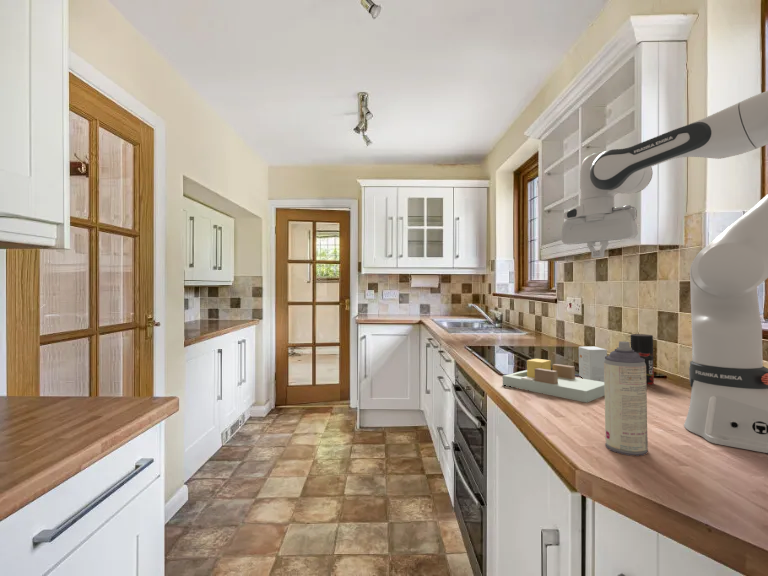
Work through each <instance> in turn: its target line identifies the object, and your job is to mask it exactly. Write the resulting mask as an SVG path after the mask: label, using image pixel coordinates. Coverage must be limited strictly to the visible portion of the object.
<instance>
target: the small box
mask: <svg viewBox="0 0 768 576" xmlns="http://www.w3.org/2000/svg"><path fill="white" fill-rule="evenodd" d="M606 356H608V350H607V349H606V348H603V347H598V346H594V345H593V346H578V372H579V373H578V375H579V376H581V377H582V378H583V379H588V380H594V381H601V382H604V361H605V357H606ZM579 376H578V377H579Z"/></svg>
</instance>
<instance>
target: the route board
mask: <svg viewBox="0 0 768 576" xmlns="http://www.w3.org/2000/svg"><path fill="white" fill-rule="evenodd" d="M551 368H552V369H551V370H548V369H541V368H537V369H535V378H533V377H527V369H525V370H521V371H517V372H514V373H507V374H505V375H502V386H504V385H507V386H506V387H509V386H511V387H510V388H513V387H516V388H515V389H518V388H520V389H519V390H523V389H525V390H524V391H528V390H529V391H528V392H533V393H537V394H542V393H543V394H544V395H548V396H551V397H552V396H553V397H557V398H562V399H568V400H573V401H578V402H582V403H587V404H588V403H589V402H591V401H592V402H593V401H594V400H597V399H600V398H602V397H605V386H604V382H601V381H594V380H588V379H582V378H580V377H577V376H576V372H575V371H576V366H575V365H574V366H573V365H568V364H567V365H566V364H560V363H559V364H558V363H553V364H551Z"/></svg>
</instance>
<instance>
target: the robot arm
mask: <svg viewBox="0 0 768 576" xmlns="http://www.w3.org/2000/svg"><path fill="white" fill-rule="evenodd" d="M767 145H768V90H767V91H764V92H761V93H757V94H755V95H754V96H750V97H748V98H746V99H744V100H742V101H739V102H737V103H734V104H732V105H730V106H728V107H726V108H724V109H722V110H720V111H717V112H714V113H713V114H711V115H708V116H706V117H704V118H702V119H699V120H697V121H694V122H690V123H689V124H686V125H684V126H680V127H678V128H675V129H672V130H670V131H668V132H665V133H662V134H659V135H657V136H654V137H652V138H650V139H647V140H645V141H642V142H640V143H637V144H634V145H632V146H629V147H626V148H625V147H624V148H614V149H608V150H605V151H604V150H603V151H598V152H594V153H591V154H590V155H588V156H586V157H585V158H584V159H583V160H582V163H581V165H580V170H579V171H580V172H579V173H580V174H579V189H580V191H581V192H580V193H581V196H580V200H579V202H580V203H579V205H577V206H575V207H573V208H570V209H569V210H567V211H566V212H564V213H563V218H564V222H563V223H562V228H561V242H562V243H563V244H564V245H569V246H571V245H580V244H586V246H587V248H588V250H589V251H590V252H591V254H590V255H591V258H605V251H606V250H607V248H608V247H609V241H611V242H612V241H619V240H620V241H621V240H632V239H635V238H636V237H637V236H638V225H637V217H638V215H637V214H638V212H637V211H638V210H637V209H636V208H637V207H635V206H632V205H631V204H630V205H629V204H626V205H623V206H615V195H616V194H628V195H630V194H636V193H639V192H641V191H643V190H645V189H646V188H647V187H649V186H648V185H649V184H650V182H651V181H652V178H653V167H654V166H657V165H660V164H662V163H665V162H668V161H671V160H672V161H673V160H674V159H679V158H681V159H682V158H707V159H715V160H716V159H717V160H719V159H725V158H730V157H734V156H739V155H742V154H746V153H749V152H751V151H754V150H757V149H759V148H762V147H764V146H767ZM598 242H599V244H600V245H601V247H600V248H599V250H596V248H595V246H596V243H598ZM689 280H690V283H689V284H690V285H689V286H690V288H689V289H690V310H691V311H690V312H691V315H690V317H691V318H690V319H691V352H692V353H691V356H692V357H691V359H692V360H691V361H689V367H688V370H689V371H688V373H689V375H688V377H689V385H690V388H691V392H690V393H691V394H690V401H689V402H690V403H689V407H688V411H687V415H686V419H685V421H684V423H683V426H684V428H685V429H686V430H687V431H690V432H691V433H693V434H696V435H697V436H701V437H702V438H703V439H705V440H706V441H707V442H709V443H712V444H716V445H721V446H727V447H732V448H737V449H743V450H749V451H754V452H759V453H764V454H768V368H767V367H765V366H764V365H763V363H764V361H763V325H762V320H761V315H760V307H759V297H758V287H759V286H760V285H762V284H763V283H764V282H765V281H766V280H768V193H767V194H766V195H764V196H763V197H762V199H760V200H759V201H758V202H757V203H755V204H754V205H753V206H752V207H751V208H750V209H749V210H747V211H746V212H745V213H744V214H743V215H741V216H740V217H739V218H738V219H736V220H735V221H734V222H733V223H731V225H729V226H728V227H727V228H725V230H723V232H721V233H720V234H718V235H717V236H716V237H715V238H714V239H712V241H711V242H709V243H708V244H707V245H706V246H704V247H703V248H702V249H701V250H700V251H699V252H698V253H697V254H696V256H695V257H694V258H693V260H692V262H691V264H690V268H689Z"/></svg>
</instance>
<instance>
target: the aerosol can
mask: <svg viewBox="0 0 768 576" xmlns="http://www.w3.org/2000/svg"><path fill="white" fill-rule="evenodd" d="M644 361H645V359H643V358H640V356H639V354H638V353H636V352H634V350H632V348H631V343H630V341H618V346H617V347H616V348H614V350H613V351H611V352H610V353H609V355H607V356H606V357H605V361H604V386H605V396H604V431H605V434H604V435H605V447H606V449H608V450H609V449H610V452H614V453H616V452H617V454H620V453H621V454H620V455H624V454H626V455H625V456H630V455H636V456H635V457H639V455H642V456H645V455H644V454H646V453H647V452H648V453H649V450H648V448H649V445H648V442H649V441H648V401H647V400H648V398H647V397H648V394H647V392H648V391H647V387H648V386H647V385H646V364H645V362H644ZM648 453H647V454H648ZM647 454H646V455H647Z"/></svg>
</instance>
